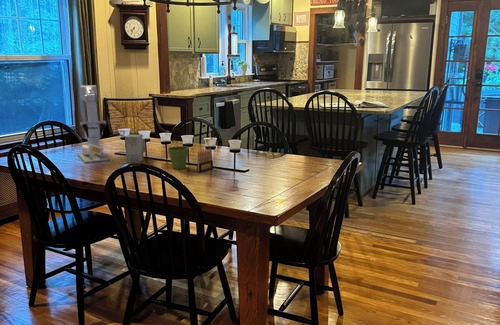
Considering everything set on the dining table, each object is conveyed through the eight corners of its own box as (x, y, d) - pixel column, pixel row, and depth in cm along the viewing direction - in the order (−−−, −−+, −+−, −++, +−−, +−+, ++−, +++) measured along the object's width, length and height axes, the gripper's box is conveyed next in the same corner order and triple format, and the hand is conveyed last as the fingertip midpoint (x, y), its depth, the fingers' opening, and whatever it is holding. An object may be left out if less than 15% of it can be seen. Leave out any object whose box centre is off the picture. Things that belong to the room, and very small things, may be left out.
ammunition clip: (199, 173, 240) (198, 150, 238) (196, 172, 241) (196, 150, 239) (213, 169, 248) (212, 147, 246) (210, 168, 250) (210, 147, 247)
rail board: (77, 155, 285) (76, 145, 284) (100, 153, 292) (99, 143, 291) (85, 163, 263) (84, 153, 262) (109, 160, 270) (109, 150, 268)
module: (86, 150, 276) (89, 143, 276) (99, 154, 280) (102, 147, 280) (88, 151, 272) (90, 144, 272) (100, 155, 276) (103, 148, 276)
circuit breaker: (146, 157, 280) (145, 132, 277) (138, 162, 266) (137, 136, 263) (134, 156, 281) (133, 132, 277) (126, 161, 267) (124, 136, 264)
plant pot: (181, 164, 259) (180, 145, 257) (194, 168, 251) (193, 148, 249) (163, 168, 251) (162, 148, 249) (176, 171, 243) (175, 151, 241)
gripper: (80, 114, 266) (83, 137, 267) (106, 113, 273) (108, 135, 274) (78, 114, 272) (81, 137, 273) (103, 113, 279) (105, 136, 280)
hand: (94, 136), depth 274 cm, fingers open, 7 cm apart
